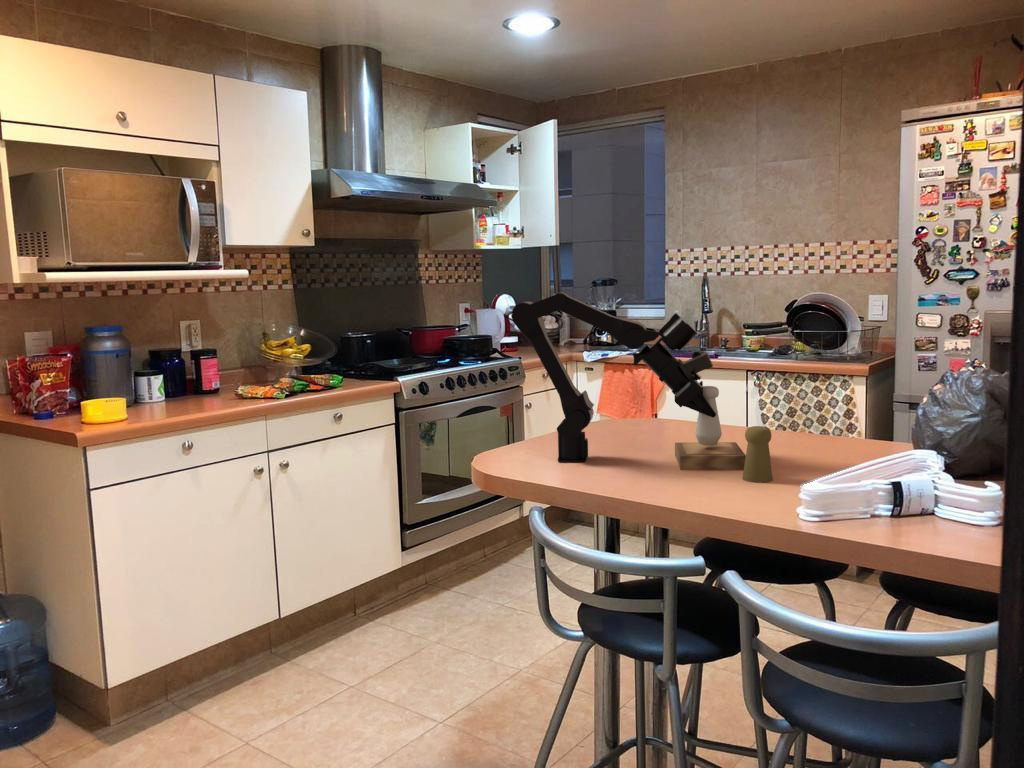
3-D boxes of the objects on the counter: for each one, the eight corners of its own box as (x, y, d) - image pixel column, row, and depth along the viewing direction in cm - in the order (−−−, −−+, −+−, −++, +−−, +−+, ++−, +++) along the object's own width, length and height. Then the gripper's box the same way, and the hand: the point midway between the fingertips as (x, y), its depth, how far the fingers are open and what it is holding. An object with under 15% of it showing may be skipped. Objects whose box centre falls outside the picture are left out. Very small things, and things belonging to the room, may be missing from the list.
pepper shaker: (768, 484, 164) (769, 430, 162) (738, 480, 167) (739, 428, 166) (776, 477, 169) (777, 425, 167) (747, 474, 172) (747, 423, 171)
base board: (680, 469, 178) (680, 455, 177) (674, 455, 191) (674, 441, 191) (746, 469, 176) (746, 455, 176) (735, 454, 190) (735, 441, 189)
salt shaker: (726, 444, 182) (727, 387, 180) (705, 447, 179) (706, 389, 178) (710, 440, 187) (711, 384, 185) (689, 442, 185) (690, 385, 183)
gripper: (691, 344, 172) (744, 396, 171) (691, 336, 190) (739, 384, 189) (653, 380, 175) (705, 432, 174) (656, 369, 193) (703, 416, 192)
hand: (714, 414), depth 182 cm, fingers closed on salt shaker, 3 cm apart
